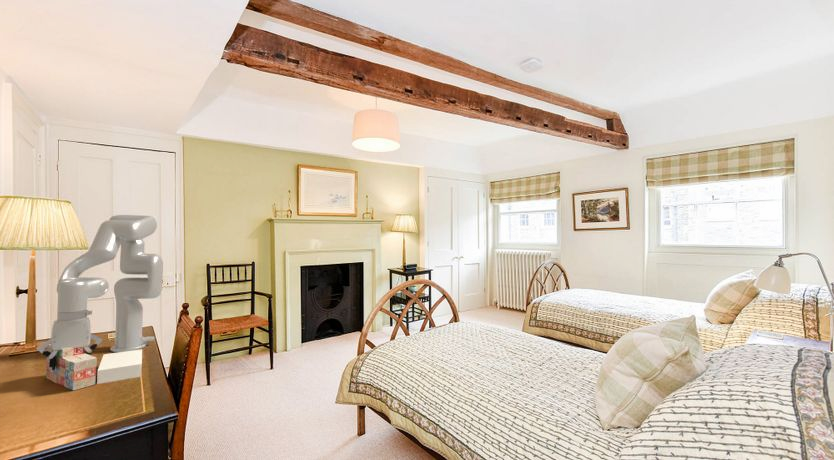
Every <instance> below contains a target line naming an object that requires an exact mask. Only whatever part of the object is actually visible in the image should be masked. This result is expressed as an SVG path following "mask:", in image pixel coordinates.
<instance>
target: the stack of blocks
mask: <svg viewBox="0 0 834 460" xmlns="http://www.w3.org/2000/svg"><path fill="white" fill-rule="evenodd" d="M46 350H47V351H49V352H51V351H52V350H51V344H50V345H48V346H46ZM45 357H46V356H45ZM55 357H56V361H55V370H52V367H50V368H49V363H50V359H49V358H48V357H46V370H45V376H46V377H45V378H46V379H48V380H49V381H51V382H53V383H55V384H57V385H60V386H62V387H64V388H66V389H69V390H71V391H76V390H80V389H83V388H87V387H90V386H93V385H95V384H96V378H97V377H96V376H97V365H98V358H97V357H95V356H94V355H91V354H90V355H88V354H85V349H84V348H83V347H81V348H64V349H61V350H60V351H58V352H57V353H56V355H55Z"/></svg>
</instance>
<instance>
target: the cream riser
mask: <svg viewBox="0 0 834 460" xmlns="http://www.w3.org/2000/svg"><path fill="white" fill-rule="evenodd" d="M99 363H100V364H99V366H98V369H97V371H96V376H97V377H96V378H97V379H96V380H97V381H96V384H97V385H99V384H105V383H112V382H116V381H123V380H127V379H128V380H129V379H135V378H141V377H142V364H143V348H141V349H137V350H133V351H126V352H113V353H111V352H110V353H105V354H104V353H103V356H102V357H101V361H100V362H99Z"/></svg>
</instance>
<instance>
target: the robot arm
mask: <svg viewBox="0 0 834 460" xmlns="http://www.w3.org/2000/svg"><path fill="white" fill-rule="evenodd" d="M157 227H158V223H157V220H156V218H154V217H153V216H151V215H135V214H117V215H112V216H111V217H110V218H109V220H105V221H103V222H102V223H101V224H100V225H99V228H98V230H97V232H96V233H95V236H94V239H93V241H92V243H91V245H90V247H89V249H88V250H87V251H86V252H85V253H83V254H82V255H80V256H78V257H77V258H75V259H74V260H72V261H71V262H69V264H68V265H67V266H65V268H64V269H63V272H62V273H61V275H60V277H59V279H58V281H57V282H58V283H57V285H56V293H57V310H56V311H57V314H56V316H57V317H56V320H54V321H53V324H52V328H51V333H50V334H51V335H50V338H49V339H48V340H47V341H45V342H43V343H42V344H41V345H39V346H37V348H36V350H37V351H38V352H39V353H41V354H42V355H43V356H45V357H48V358H49V359H50V363H49V368H50V367H52V370H55V361H56V357H55V355H56V353H57V352H58V351H60V350H61V349H64V348H81V347H83V348H84V354H88V355H91V353H92V351H94V350H95V349H96V348H97V347H98V346H99V345H100V343H102V341H103V338H102V337H100V336H97V335H96V334H92V331H91V328H92V327H91V321H90V317H88V316H91V315H93V310H88V299H95V298H100V297H103V296H104V295H105V294H107V292H108V290H109V285H110V284H109V283H108V281H107V280H106V279H104V278H101V277H94V276H93V277H92V276H91V277H84V276H82V277H81V275H83V273H84V272H86V271H87V270H89V269H91V268H94V267H97V266H99V265H103V264H106V263H107V262H110V261H113V260H114V259H115V258H116V256H117V254H118V252H119V249H120V257H119V258H120V259H119V271H120V272H121V273H122V274H125V275H134V276H135V275H138V276H139V275H143V276H144V275H146V277H124V278H120V279H117V281H116V282H115V283H114V286H113V293H114V297H115V309H116V310H115V331H114V332H115V333H114V334H115V337H114V345H112V346H111V347H110V351H111V352H113V353H118V352H126V351H133V350H141V349H143V348H145V347H147V342H152V341H155V336H153V335H152V336H150V335H149V336H144V335H143V317H144V314H143V313H144V307H143V304H142V303H141V301H140V300H144V299H145V300H146V299H157V298H158V297H159V296H160V295H161V294H162V289H163V278H164V277H163V276H164V261H163V258H162V256H160V255H159V254H156V253H146V252H145V246H146V245H145V241H144V239H145V238H147V237H150V236H151V235H153V234H154V233H155V232H156V230H157ZM91 340H93V341H94V343H92V344H91ZM50 344H51V350H52V351H51V352H49V351H47V346H48V345H50ZM90 344H91V345H90Z"/></svg>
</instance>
